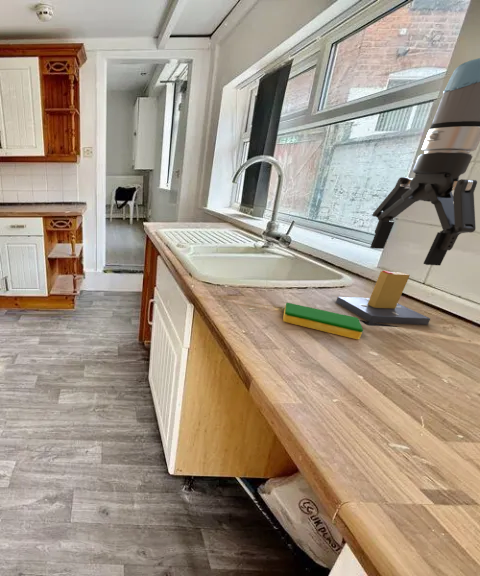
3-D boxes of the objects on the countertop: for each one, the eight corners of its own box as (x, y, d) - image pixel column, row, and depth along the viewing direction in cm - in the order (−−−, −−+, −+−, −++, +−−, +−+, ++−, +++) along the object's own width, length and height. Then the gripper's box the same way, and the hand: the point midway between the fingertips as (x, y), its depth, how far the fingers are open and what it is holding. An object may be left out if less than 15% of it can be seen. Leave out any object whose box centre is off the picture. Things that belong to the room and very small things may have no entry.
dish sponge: (283, 310, 75) (286, 301, 74) (354, 327, 68) (358, 317, 68) (282, 321, 69) (285, 312, 68) (359, 340, 63) (363, 330, 62)
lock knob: (388, 305, 74) (402, 271, 71) (395, 308, 72) (410, 274, 69) (367, 304, 74) (380, 270, 71) (374, 307, 73) (388, 273, 69)
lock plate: (384, 307, 79) (388, 298, 78) (426, 328, 69) (431, 317, 68) (334, 305, 80) (337, 295, 79) (368, 325, 69) (372, 315, 68)
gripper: (375, 154, 73) (344, 242, 80) (502, 148, 49) (441, 272, 57) (407, 156, 73) (373, 243, 80) (549, 150, 49) (481, 274, 57)
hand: (401, 255), depth 69 cm, fingers open, 13 cm apart
